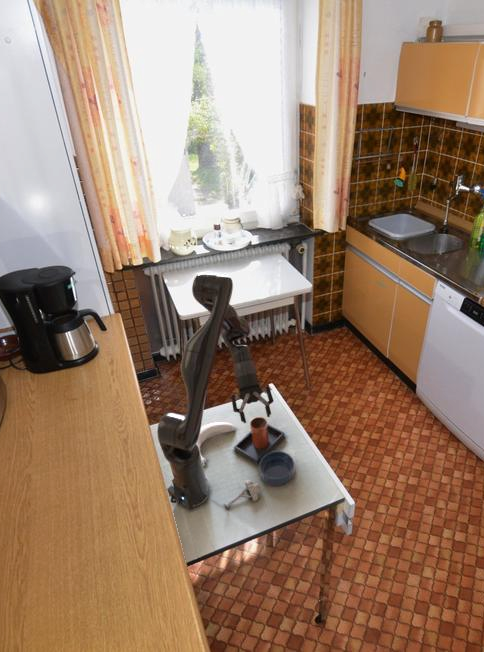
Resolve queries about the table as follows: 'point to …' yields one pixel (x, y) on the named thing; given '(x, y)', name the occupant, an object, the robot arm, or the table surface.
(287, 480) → the bowl
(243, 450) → the tray
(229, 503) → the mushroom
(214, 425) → the banana
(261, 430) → the cup
